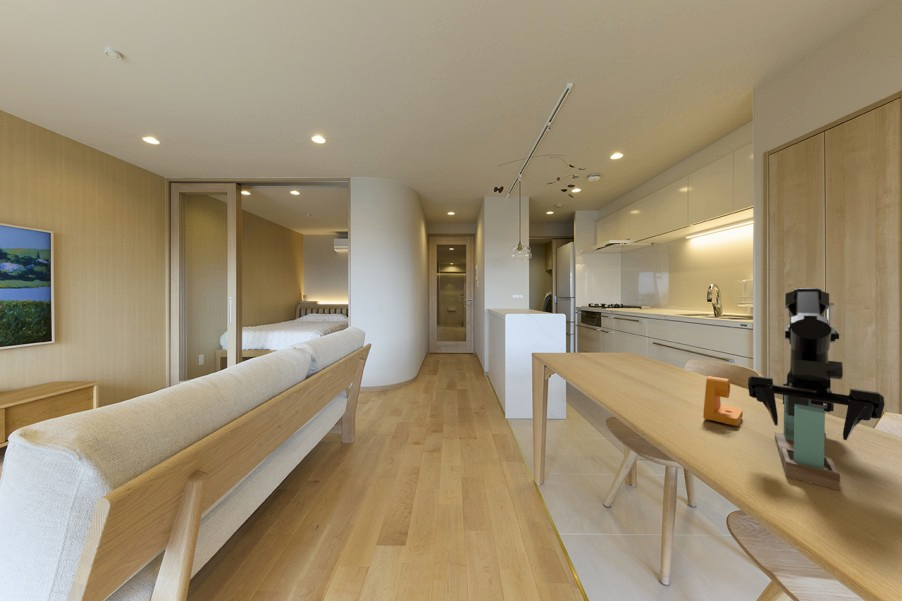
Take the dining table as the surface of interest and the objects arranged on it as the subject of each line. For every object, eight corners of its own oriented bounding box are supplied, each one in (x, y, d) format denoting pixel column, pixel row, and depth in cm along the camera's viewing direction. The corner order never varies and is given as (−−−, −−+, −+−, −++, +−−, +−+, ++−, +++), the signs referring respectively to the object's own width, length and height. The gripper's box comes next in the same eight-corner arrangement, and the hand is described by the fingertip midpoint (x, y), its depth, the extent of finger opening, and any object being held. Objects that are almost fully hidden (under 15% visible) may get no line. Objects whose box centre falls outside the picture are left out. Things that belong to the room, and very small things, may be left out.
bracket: (736, 429, 86) (737, 384, 86) (703, 421, 92) (703, 379, 92) (743, 418, 94) (743, 377, 93) (711, 411, 99) (711, 372, 99)
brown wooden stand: (774, 437, 81) (775, 384, 80) (816, 446, 76) (817, 390, 76) (785, 476, 64) (786, 410, 64) (839, 490, 60) (841, 419, 59)
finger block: (793, 459, 68) (794, 403, 67) (822, 467, 65) (823, 408, 64) (793, 466, 65) (794, 408, 65) (823, 474, 62) (825, 413, 62)
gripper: (749, 340, 74) (743, 399, 67) (884, 350, 60) (894, 425, 53) (752, 368, 80) (746, 425, 73) (876, 383, 66) (884, 455, 59)
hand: (808, 431), depth 64 cm, fingers open, 9 cm apart
